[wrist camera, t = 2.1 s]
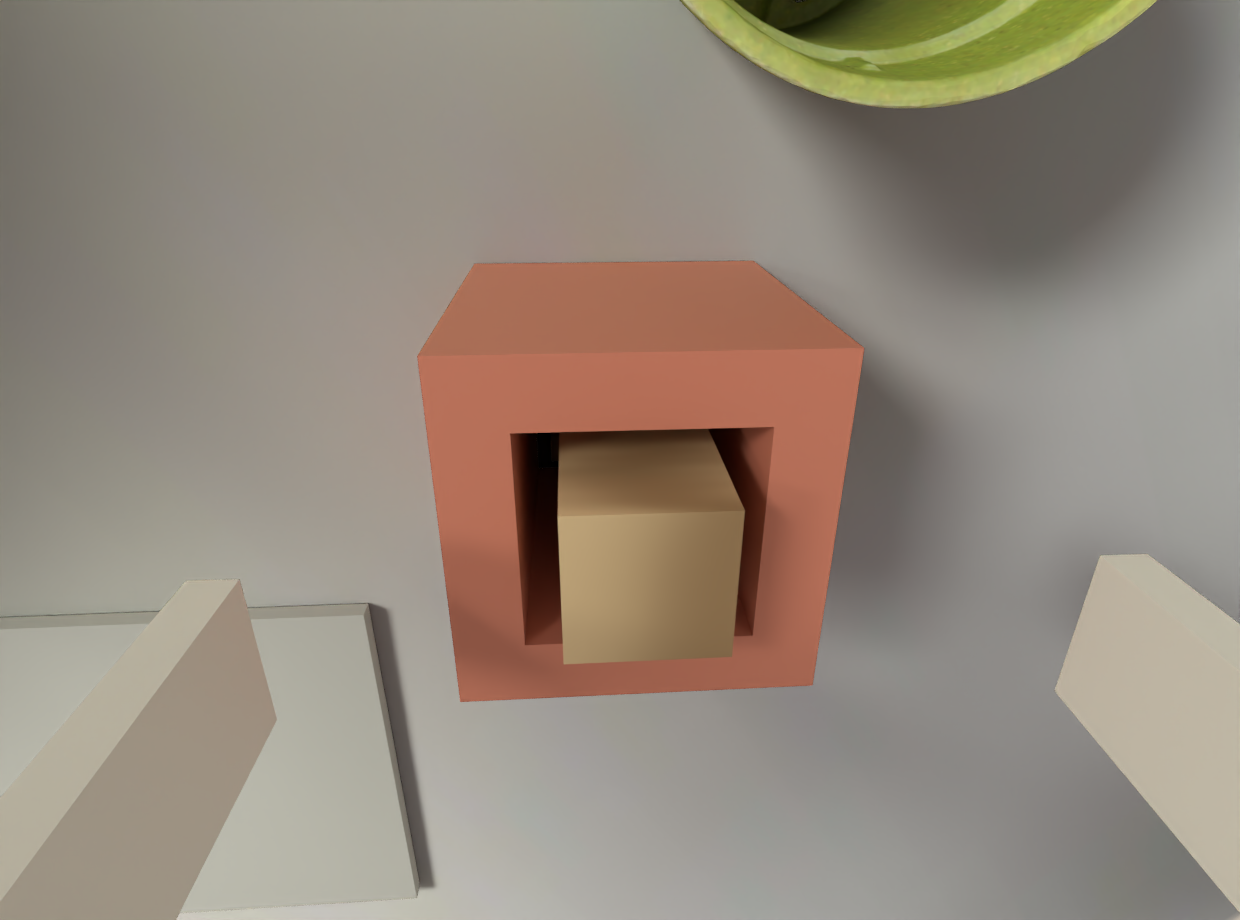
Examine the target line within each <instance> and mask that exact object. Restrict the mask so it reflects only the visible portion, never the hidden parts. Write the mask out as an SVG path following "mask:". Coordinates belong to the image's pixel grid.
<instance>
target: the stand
mask: <svg viewBox="0 0 1240 920" xmlns="http://www.w3.org/2000/svg"><path fill="white" fill-rule="evenodd" d="M550 437H551V460H552V461H559V475H558V540H559V564H560V589H561V613H562V637H563V662H564V664H584V663H606V662H629V661H652V660H674V659H697V658H719V657H732V651H733V640H734V629H735V617H736V606H737V595H738V583H739V572H740V561H741V550H742V538H743V527H744V516H745V510H744V507H743V505H742V503H741V501H740V499H739V496H738V494H737V492H736V490H735V487H734V485H733V483H732V481H731V479H730V476H729V474H728V472H727V470H726V467H725V465H724V463H723V461H722V459H721V456H720V454H719V452H718V450H717V447H716V445H715V443H714V441H713V439H712V436H711V434H710V432H709V430H708V429H669V430H629V431H588V432H550Z"/></svg>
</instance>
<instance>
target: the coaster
mask: <svg viewBox="0 0 1240 920" xmlns="http://www.w3.org/2000/svg"><path fill="white" fill-rule="evenodd" d="M247 609H248V613H249V616H250V620H251V624H252V628H253V631H254V635H255V639H256V643H257V646H258V650H259V654H260V657H261V661H262V665H263V669H264V672H265V676H266V680H267V684H268V687H269V691H270V695H271V698H272V702H273V706H274V710H275V713H276V717H277V721H276V723H275V725H274V727H273V729H272V731H271V733H270V735H269V737H268V739H267V741H266V743H265V745H264V747H263V749H262V751H261V753H260V755H259V756H258V758H257V760H256V762H255V764H254V766H253V768H252V770H251V772H250V774H249V776H248V778H247V780H246V782H245V784H244V786H243V788H242V790H241V792H240V794H239V796H238V798H237V800H236V802H235V804H234V806H233V808H232V810H231V812H230V814H229V816H228V818H227V820H226V822H225V824H224V826H223V828H222V830H221V832H220V834H219V836H218V838H217V840H216V842H215V844H214V846H213V848H212V850H211V852H210V854H209V856H208V857H207V859H206V861H205V863H204V865H203V867H202V869H201V871H200V873H199V875H198V877H197V879H196V881H195V883H194V885H193V887H192V889H191V891H190V893H189V895H188V897H187V899H186V901H185V903H184V905H183V907H182V909H181V911H180V913H192V912H208V911H224V910H240V909H256V908H271V907H287V906H303V905H319V904H335V903H350V902H366V901H382V900H398V899H414V898H417V895H418V890H419V885H420V883H419V877H418V872H417V866H416V861H415V855H414V850H413V845H412V839H411V834H410V828H409V823H408V817H407V812H406V806H405V801H404V796H403V790H402V785H401V779H400V774H399V768H398V763H397V757H396V752H395V747H394V741H393V736H392V730H391V725H390V719H389V714H388V709H387V703H386V698H385V692H384V687H383V681H382V676H381V670H380V665H379V660H378V654H377V649H376V643H375V638H374V632H373V627H372V621H371V616H370V611H369V605H368V603H366V604H340V605H314V606H288V607H262V608H247ZM159 612H160V611H158V612H132V613H106V614H80V615H54V616H28V617H2V618H0V798H1V796H2V795H3V794H4V793H5V792H6V791H7V789H8V788H9V787H10V786H11V785H12V784H13V782H14V781H15V780H16V779H17V778H18V777H19V775H20V774H21V773H22V772H23V771H24V770H25V768H26V767H27V766H28V765H29V764H30V763H31V761H32V760H33V759H34V758H35V757H36V755H37V754H38V753H39V752H40V751H41V750H42V748H43V747H44V746H45V745H46V744H47V743H48V741H49V740H50V739H51V738H52V737H53V736H54V734H55V733H56V732H57V731H58V730H59V729H60V727H61V726H62V725H63V724H64V723H65V722H66V720H67V719H68V718H69V717H70V716H71V715H72V713H73V712H74V711H75V710H76V709H77V708H78V706H79V705H80V704H81V703H82V702H83V701H84V699H85V698H86V697H87V696H88V695H89V694H90V692H91V691H92V690H93V689H94V688H95V687H96V685H97V684H98V683H99V682H100V681H101V680H102V678H103V677H104V676H105V675H106V674H107V673H108V671H109V670H110V669H111V668H112V667H113V666H114V664H115V663H116V662H117V661H118V660H119V659H120V657H121V656H122V655H123V654H124V653H125V651H126V650H127V649H128V648H129V647H130V646H131V644H132V643H133V642H134V641H135V640H136V639H137V637H138V636H139V635H140V634H141V633H142V632H143V630H144V629H145V628H146V627H147V626H148V625H149V623H150V622H151V621H152V620H153V619H154V618H155V616H156V615H157V614H158V613H159Z"/></svg>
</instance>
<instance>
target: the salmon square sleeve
mask: <svg viewBox="0 0 1240 920" xmlns="http://www.w3.org/2000/svg"><path fill="white" fill-rule="evenodd" d="M863 354H864V347H862V346H861V345H860V344H858V343H857V342H856V341H855V340H853V339H852V338H851V337H850V336H848V335H847V334H846V333H844V332H843V331H842V330H841V329H839V328H838V327H837V326H836V325H834V324H833V323H832V322H830V321H829V320H828V319H827V318H825V317H824V316H823V315H822V314H820V313H819V312H818V311H816V310H815V309H814V308H813V307H811V306H810V305H809V304H808V303H806V302H805V301H804V300H802V299H801V298H800V297H799V296H797V295H796V294H795V293H794V292H792V291H791V290H790V289H788V288H787V287H786V286H785V285H783V284H782V283H781V282H780V281H778V280H777V279H776V278H775V277H773V276H772V275H771V274H769V273H768V272H767V271H766V270H764V269H763V268H762V267H761V266H759V265H758V264H757V263H755V262H754V261H689V262H593V263H497V264H474V265H473V267H472V268H471V270H470V272H469V273H468V275H467V277H466V278H465V280H464V281H463V283H462V285H461V286H460V288H459V290H458V291H457V293H456V294H455V296H454V298H453V299H452V301H451V302H450V304H449V306H448V307H447V309H446V311H445V312H444V314H443V315H442V317H441V319H440V320H439V322H438V324H437V325H436V327H435V328H434V330H433V332H432V333H431V335H430V336H429V338H428V340H427V341H426V343H425V345H424V346H423V348H422V349H421V351H420V353H419V354H418V356H417V358H418V366H419V374H420V382H421V390H422V398H423V406H424V414H425V422H426V430H427V438H428V446H429V454H430V462H431V470H432V478H433V486H434V494H435V502H436V510H437V518H438V526H439V534H440V542H441V550H442V558H443V566H444V574H445V582H446V590H447V598H448V606H449V614H450V622H451V630H452V638H453V646H454V654H455V663H456V671H457V679H458V687H459V695H460V702H468V701H490V700H511V699H532V698H554V697H575V696H596V695H617V694H639V693H660V692H681V691H702V690H724V689H745V688H766V687H788V686H809V685H813V678H814V672H815V665H816V659H817V652H818V646H819V639H820V633H821V626H822V620H823V614H824V607H825V601H826V594H827V588H828V581H829V575H830V568H831V562H832V555H833V549H834V542H835V536H836V529H837V523H838V516H839V510H840V503H841V497H842V490H843V484H844V477H845V471H846V464H847V458H848V451H849V445H850V438H851V432H852V425H853V419H854V412H855V406H856V399H857V393H858V386H859V380H860V373H861V367H862V360H863ZM669 429H708V430H709V432H710V434H711V436H712V439H713V441H714V443H715V445H716V447H717V450H718V452H719V454H720V456H721V459H722V461H723V463H724V465H725V467H726V470H727V472H728V474H729V476H730V479H731V481H732V483H733V485H734V487H735V490H736V492H737V494H738V496H739V499H740V501H741V503H742V505H743V507H744V510H745V516H744V527H743V538H742V550H741V561H740V572H739V583H738V595H737V606H736V617H735V629H734V640H733V651H732V657H719V658H697V659H674V660H652V661H629V662H606V663H584V664H564V662H563V637H562V613H561V589H560V564H559V540H558V475H559V467H548V468H539V460H538V441H537V433H548V432H588V431H629V430H669Z"/></svg>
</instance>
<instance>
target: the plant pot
mask: <svg viewBox="0 0 1240 920" xmlns="http://www.w3.org/2000/svg"><path fill="white" fill-rule="evenodd" d="M680 1H681V2H682V3H683V5H684V6H685V7H686V8H687V9H688V10H690V11H691V12H692V13H693V14H694V15H695V16H696V17H697V18H698V19H699V20H700V21H701V22H702V23H703V24H704V25H705V26H706V27H707V28H708V29H709V30H710V31H711V32H712V33H713V34H715V35H716V36H717V37H718V38H719V39H721V40H722V41H723V42H724V43H726V44H727V45H728V46H729V47H730V48H732V49H733V50H734V51H736V52H737V53H739V54H740V55H742V56H743V57H745V58H746V59H748V60H749V61H751V62H752V63H754V64H755V65H757V66H758V67H760V68H762V69H763V70H765V71H767V72H769V73H771V74H773V75H775V76H777V77H779V78H780V79H782V80H785V81H787V82H789V83H791V84H794V85H796V86H798V87H801V88H803V89H805V90H808V91H810V92H813V93H816V94H820V95H823V96H826V97H829V98H832V99H836V100H841V101H845V102H850V103H854V104H859V105H866V106H873V107H880V108H933V107H942V106H949V105H956V104H961V103H967V102H971V101H975V100H980V99H984V98H987V97H990V96H994V95H998V94H1002V93H1005V92H1007V91H1010V90H1012V89H1015V88H1018V87H1021V86H1024V85H1026V84H1028V83H1031V82H1033V81H1035V80H1038V79H1040V78H1042V77H1044V76H1046V75H1048V74H1050V73H1052V72H1054V71H1056V70H1058V69H1060V68H1062V67H1064V66H1066V65H1068V64H1070V63H1071V62H1073V61H1074V60H1076V59H1077V58H1079V57H1080V56H1082V55H1084V54H1085V53H1087V52H1089V51H1090V50H1092V49H1094V48H1095V47H1097V46H1099V45H1100V44H1102V43H1103V42H1104V41H1106V40H1107V39H1109V38H1110V37H1112V36H1113V35H1115V34H1116V33H1118V32H1119V31H1121V30H1122V29H1123V28H1124V27H1126V26H1127V25H1128V24H1130V23H1131V22H1132V21H1133V20H1135V19H1136V18H1137V17H1139V16H1140V15H1141V14H1142V13H1143V12H1145V11H1146V10H1147V9H1148V8H1150V7H1151V6H1152V5H1153V4H1154V3H1155V2H1156V1H1157V0H805V1H803V2H798V3H797V2H796V1H795V0H680Z"/></svg>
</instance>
